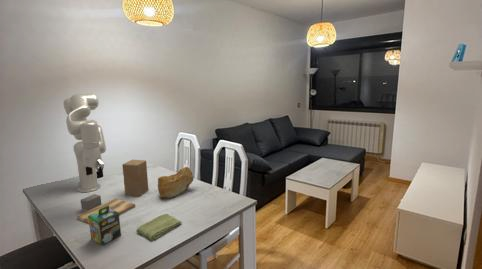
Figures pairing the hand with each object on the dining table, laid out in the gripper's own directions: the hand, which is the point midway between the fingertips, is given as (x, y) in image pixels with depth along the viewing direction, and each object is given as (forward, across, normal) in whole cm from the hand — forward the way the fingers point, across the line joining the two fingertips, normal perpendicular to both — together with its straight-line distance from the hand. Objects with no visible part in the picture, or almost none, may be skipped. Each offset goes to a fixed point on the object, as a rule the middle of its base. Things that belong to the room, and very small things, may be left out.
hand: (94, 176), depth 135 cm
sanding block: (+18, -3, -2) cm, 19 cm away
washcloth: (+19, +45, +2) cm, 49 cm away
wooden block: (+18, +3, +23) cm, 30 cm away
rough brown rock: (+18, +22, +36) cm, 46 cm away
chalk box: (+18, +30, -15) cm, 39 cm away
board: (+18, +10, -1) cm, 21 cm away
